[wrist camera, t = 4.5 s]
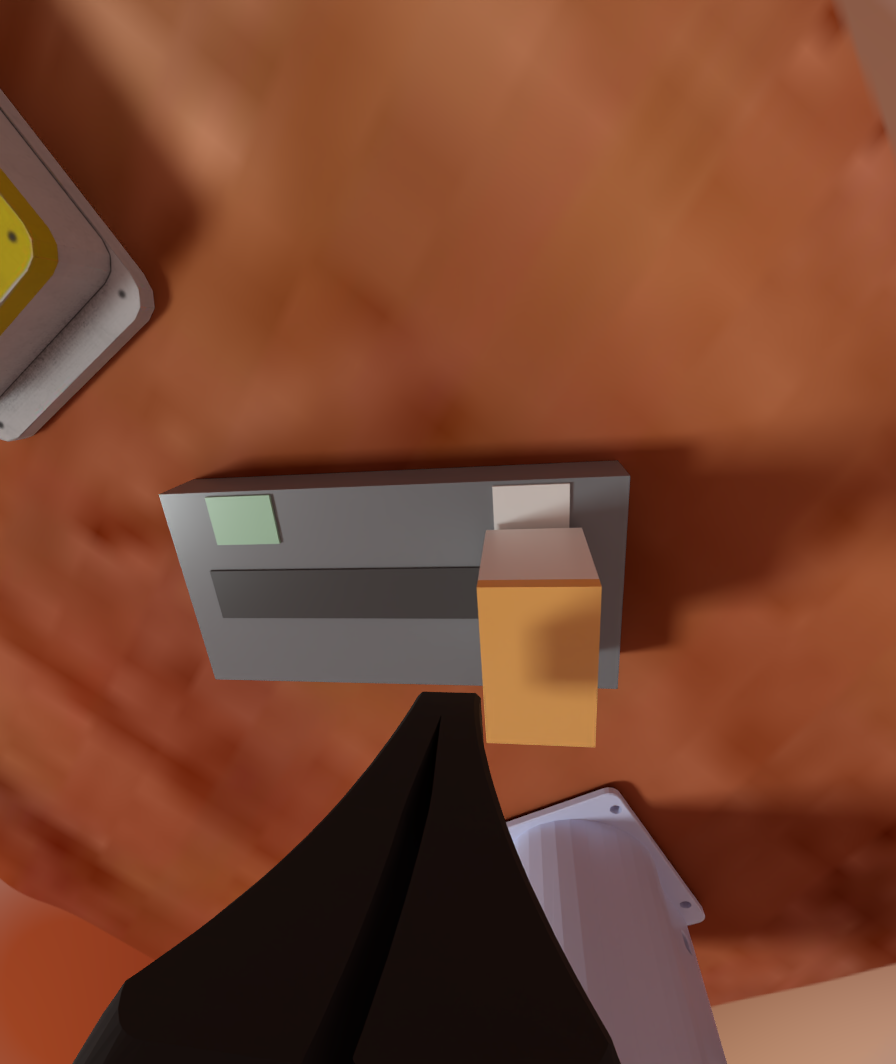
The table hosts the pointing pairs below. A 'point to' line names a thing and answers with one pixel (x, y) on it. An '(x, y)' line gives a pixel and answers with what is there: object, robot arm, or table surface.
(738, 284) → the table surface
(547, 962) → the robot arm
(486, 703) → the knob
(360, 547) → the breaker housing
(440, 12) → the table surface
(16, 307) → the emergency button
